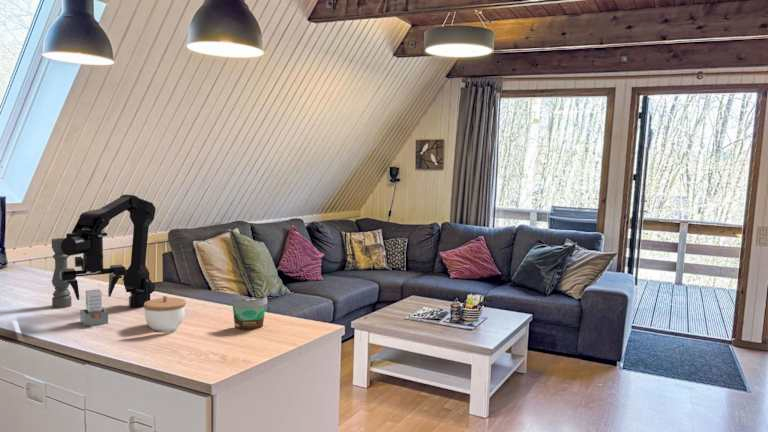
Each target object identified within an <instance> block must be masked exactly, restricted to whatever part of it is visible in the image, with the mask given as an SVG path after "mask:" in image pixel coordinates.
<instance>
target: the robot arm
mask: <svg viewBox="0 0 768 432" xmlns="http://www.w3.org/2000/svg"><path fill="white" fill-rule="evenodd" d="M125 211H127V212H129V219H130V221H131V223H132V224H133V233H132V245H131V258H130V265H129V266H128V268H127V267H126V266H124V265H123V264H110V265H109V267H107V268H104V247H103V245H104V243H103V242H104V241H103V239H104V237H107V236H108V233H107V232H106V231H104V230H105V228H106V227H108V226H109V224H110V221H111V220H112V219H114V218H115V217H117V216H118V215H120V214H122V213H123V212H125ZM155 214H156V206H155V205H154V203H153V202H152V201H147V200H145V199H142V198H140V197H138V196H137V195H134V194H123V195H122V194H121V195H120V197H118V198H116V199H115V200H113V201H111V202H110V203H108V204H106V205H104V206H103V207H101V208H100V207H99V208H97V209H92V210H91V209H90V210H88V211H87V210H86V211H85V212H82V213H80V215H79V218H78V220H77V221H76V223H75V225H74V227H73V229H72V231H71V232H70V233H66V235H65V239H64V240H63V241H62V244H61V250H62V252H63V253H64V254H65V255H68V256H69V257H70V256H75V257H74V267H75V268H80V267H81V270H76V269H75V268H71V267H70V268H68V269H61V270H60V272H59V276H60V279H61V280H62V281H66V283H70V286H71V288H72V289H73V292H74V295H75V297H76V300H77V301H79V300H80V291H79V284H78V279H77V277H87V276H88V277H89V276H95V275H96V276H98V275H99V276H100V275H107V274H108V279H109V281H108V290H107V293H108V294H107V296H108V297H109V298H110V297H111V296H112V293H113V291H114V289H115V286H116V285H117V283H118V281H119V279H122V282H123V285H124V289H125V292H126V293H130V296H128V307H129V308H130V309H132V308H133V309H135V308H137V309H138V308H139V309H141V308H144V303H145V302H146V301H149V300H151V294H152V293H154V292H155V288H156V285H155V284H154V283H153V281H152V280H151V279H150V272H149V270H148V268H147V266H146V262H147V248H148V239H149V229H150V228H149V227H150V225H151V224H152V223H153V221H154V220H155ZM80 254H83V255H82V256H76V255H80Z"/></svg>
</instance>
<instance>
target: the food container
mask: <svg viewBox="0 0 768 432" xmlns="http://www.w3.org/2000/svg"><path fill="white" fill-rule="evenodd" d="M267 304H268V297H267V295H265V296H264V297H261V298H260V297H259V298H254V297H253V298H251V297H250V298H249V297H248V298H245V299H235V298H231V300H230V305H231V306H232V313H233V321H234V328H235V329H237V330H242V331H253V330H259V329H261V328H263V327H264V320H265V312H266V305H267Z"/></svg>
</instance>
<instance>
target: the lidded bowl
mask: <svg viewBox="0 0 768 432" xmlns="http://www.w3.org/2000/svg"><path fill="white" fill-rule="evenodd" d="M186 302H187V301H186V300H185V299H183V298H177V297H168V296H167V295H163V296H162V297H159V298H153V299H150V300H149V301H146V302H145V303H144V307H143V308H144V309H143V310H144V312H143V313H144V318H145V321H146V324H147V325H148V327H149V328H151V329H152V330H155V331H154V332H155V333H160V334H161V333H162V334H164V333H165V334H166V333H172V332H175V331H177V329H178V328H179V327H180V326H181V325H182V323H183V321H184V318H185V313H186V304H187V303H186Z"/></svg>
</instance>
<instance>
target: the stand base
mask: <svg viewBox="0 0 768 432" xmlns="http://www.w3.org/2000/svg"><path fill="white" fill-rule="evenodd" d="M79 320H80V323H81V325H82V326H83V327H93V326H100V325H107V324H109V311H108V310H107V309H106V308H105V307H103V306H102V312H98V313H90V314H86V308H85V309H80V310H79Z"/></svg>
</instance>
